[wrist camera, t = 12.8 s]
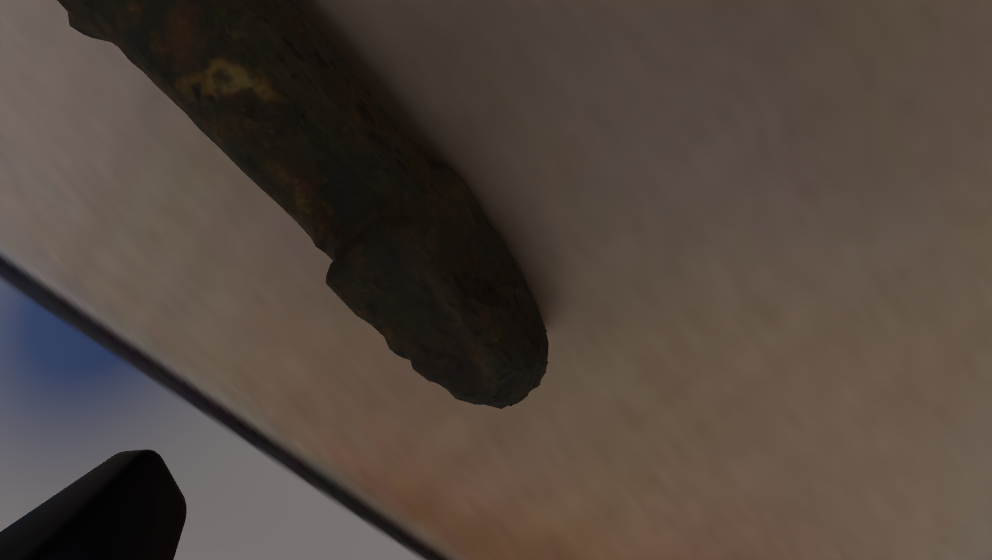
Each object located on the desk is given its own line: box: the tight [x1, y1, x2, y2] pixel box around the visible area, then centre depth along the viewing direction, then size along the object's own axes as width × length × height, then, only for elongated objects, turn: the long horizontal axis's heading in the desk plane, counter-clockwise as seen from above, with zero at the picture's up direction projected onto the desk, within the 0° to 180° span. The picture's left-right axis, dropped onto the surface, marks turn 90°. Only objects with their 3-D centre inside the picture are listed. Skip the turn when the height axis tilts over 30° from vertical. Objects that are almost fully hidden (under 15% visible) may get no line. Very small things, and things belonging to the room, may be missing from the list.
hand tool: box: [58, 0, 548, 409], centre depth 17 cm, size 19×4×5 cm, turn 37°
